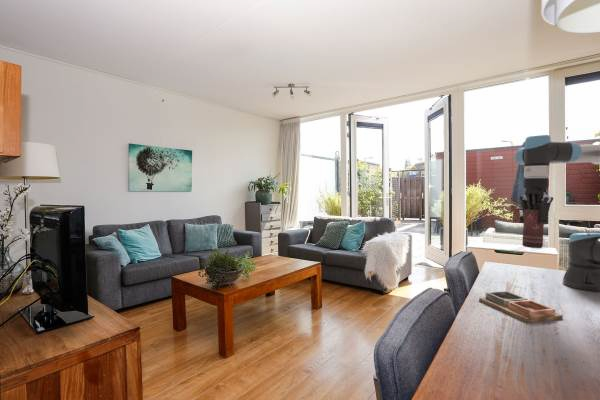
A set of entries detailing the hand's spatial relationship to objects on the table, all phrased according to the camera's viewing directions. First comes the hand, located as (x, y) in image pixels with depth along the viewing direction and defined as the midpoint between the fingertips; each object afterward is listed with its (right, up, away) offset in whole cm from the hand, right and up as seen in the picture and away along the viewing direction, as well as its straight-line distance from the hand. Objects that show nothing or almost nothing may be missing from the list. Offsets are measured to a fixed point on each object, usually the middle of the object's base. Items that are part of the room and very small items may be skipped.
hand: (534, 241), depth 119 cm
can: (0, -2, 0) cm, 2 cm away
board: (-11, -23, -7) cm, 26 cm away
